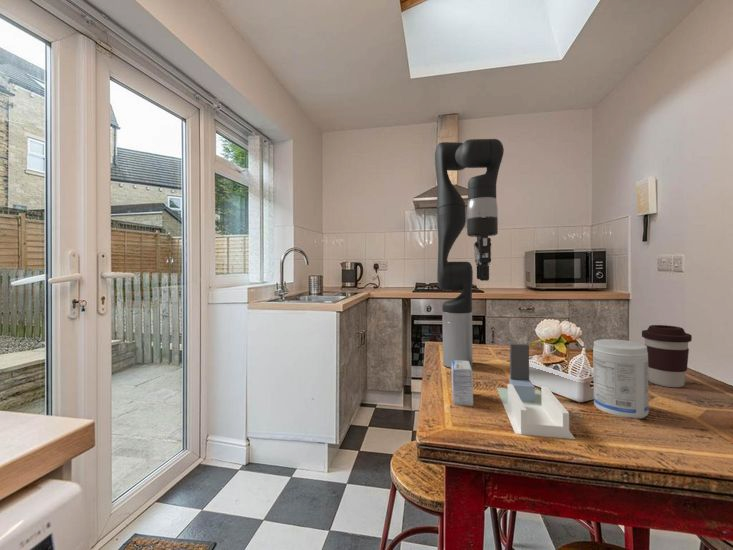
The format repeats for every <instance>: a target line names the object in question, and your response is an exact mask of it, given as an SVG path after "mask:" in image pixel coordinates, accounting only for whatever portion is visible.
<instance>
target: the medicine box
mask: <svg viewBox="0 0 733 550" xmlns="http://www.w3.org/2000/svg"><path fill="white" fill-rule="evenodd" d="M450 369H451V395H452V401H453V402H452V403H453V405H455V406H456V405H457V406H474V382H473V380H474V377H473V375H474V374H473V373H474V372H473V369H472V367H471V365H470V362H469V361H460V360H456V361H452V363H451V368H450Z"/></svg>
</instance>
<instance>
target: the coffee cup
mask: <svg viewBox="0 0 733 550" xmlns="http://www.w3.org/2000/svg"><path fill="white" fill-rule="evenodd" d="M641 337H642V338H644V343H643V344H644V345H646V346H647V352H648V382H650V383H652V384H655V385H657V386H662V387H667V388H683V387H684V386H685V382H686V373H687V371H688V363H689V352H690V349H689V343H691V342H692V337H693V335H692V334H690V333H687V332H686V331H685V329H684V328H683V327H680V326H675V325H667V324H652V325H649V326H648V328H647V329H644V330H642V331H641Z"/></svg>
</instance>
